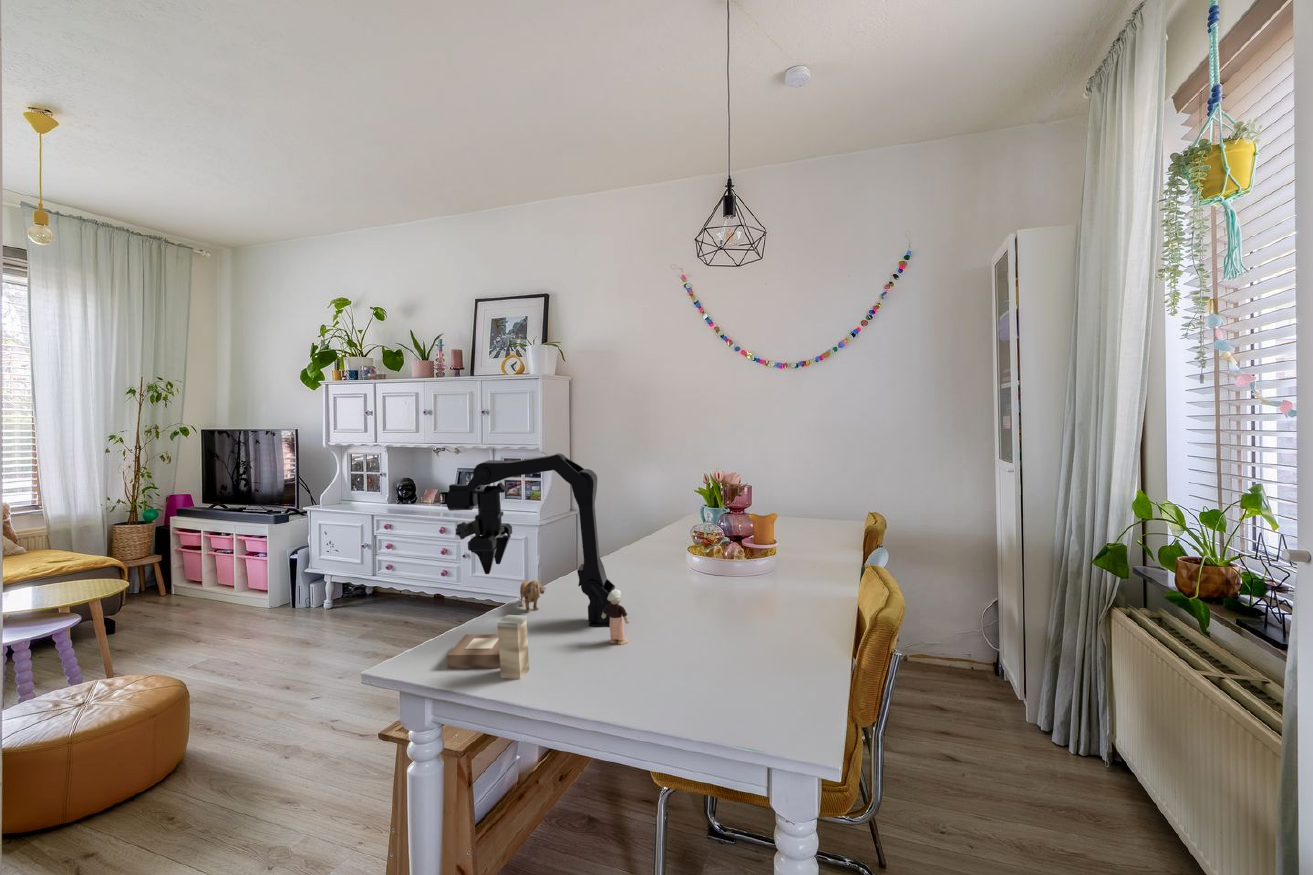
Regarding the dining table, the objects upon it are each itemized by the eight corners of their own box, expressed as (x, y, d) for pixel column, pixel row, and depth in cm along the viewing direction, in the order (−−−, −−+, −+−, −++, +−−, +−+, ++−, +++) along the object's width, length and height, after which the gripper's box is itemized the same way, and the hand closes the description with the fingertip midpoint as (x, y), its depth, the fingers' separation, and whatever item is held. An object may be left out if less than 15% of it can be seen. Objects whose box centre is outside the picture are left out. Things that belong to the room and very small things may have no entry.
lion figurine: (549, 612, 180) (547, 580, 179) (530, 616, 177) (528, 584, 176) (528, 599, 192) (526, 568, 191) (510, 602, 189) (508, 572, 188)
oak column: (510, 668, 145) (507, 614, 144) (529, 669, 144) (526, 615, 143) (500, 677, 140) (497, 622, 139) (520, 679, 139) (517, 623, 138)
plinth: (515, 645, 157) (515, 632, 157) (501, 667, 145) (500, 653, 145) (466, 646, 158) (465, 633, 158) (447, 668, 146) (446, 654, 146)
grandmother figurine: (634, 639, 158) (632, 588, 157) (628, 646, 155) (626, 593, 154) (605, 637, 161) (602, 586, 160) (598, 643, 157) (596, 591, 156)
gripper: (471, 503, 180) (474, 559, 181) (445, 517, 161) (449, 580, 163) (511, 502, 179) (514, 559, 180) (490, 516, 161) (493, 579, 162)
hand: (492, 568), depth 171 cm, fingers open, 9 cm apart
